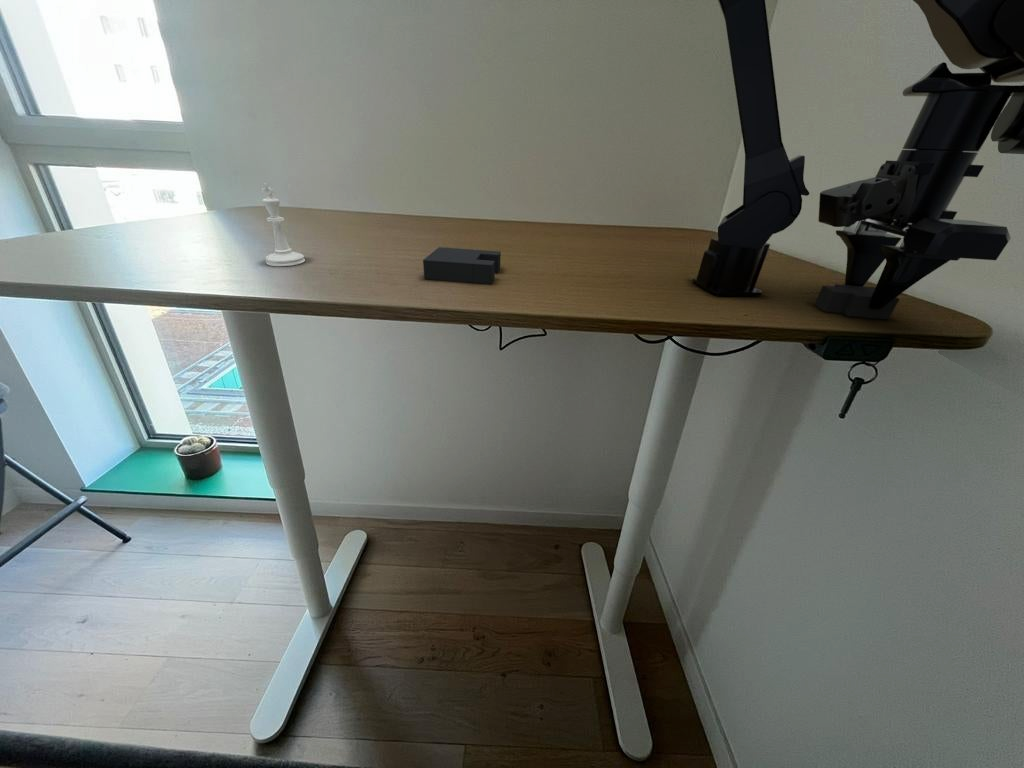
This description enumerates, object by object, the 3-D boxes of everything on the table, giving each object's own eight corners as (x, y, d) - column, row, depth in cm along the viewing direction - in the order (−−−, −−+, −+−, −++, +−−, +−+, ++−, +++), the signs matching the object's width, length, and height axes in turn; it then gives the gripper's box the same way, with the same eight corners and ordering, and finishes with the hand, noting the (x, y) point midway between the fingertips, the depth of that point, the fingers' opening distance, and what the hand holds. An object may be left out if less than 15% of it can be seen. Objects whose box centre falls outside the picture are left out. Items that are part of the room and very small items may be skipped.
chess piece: (290, 267, 54) (269, 186, 49) (258, 264, 55) (234, 183, 50) (312, 259, 58) (296, 182, 53) (282, 256, 59) (263, 180, 54)
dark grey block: (863, 306, 50) (874, 286, 49) (888, 319, 46) (900, 299, 45) (809, 302, 51) (818, 282, 49) (829, 315, 47) (839, 294, 46)
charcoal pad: (500, 269, 58) (500, 251, 57) (491, 284, 52) (492, 265, 50) (439, 264, 59) (438, 246, 57) (424, 279, 52) (422, 259, 51)
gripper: (805, 146, 48) (759, 274, 56) (922, 148, 32) (834, 326, 41) (904, 151, 47) (842, 280, 56) (1073, 155, 32) (952, 335, 40)
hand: (860, 301), depth 48 cm, fingers closed on dark grey block, 4 cm apart
